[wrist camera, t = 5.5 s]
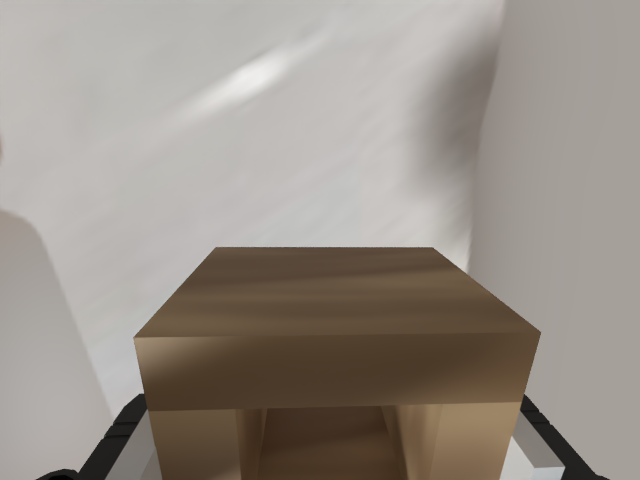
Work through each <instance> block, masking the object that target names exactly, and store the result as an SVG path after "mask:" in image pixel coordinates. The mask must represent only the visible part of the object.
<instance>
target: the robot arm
mask: <svg viewBox="0 0 640 480" xmlns="http://www.w3.org/2000/svg"><path fill="white" fill-rule="evenodd" d="M36 480H162V475H161V470H160V465H159V460H158V455H157V450H156V447H155V444H154V439H153V434H152V429H151V424H150V419H149V414H148V409H147V404H146V399H145V394H139V395H138V396H136V397H135V398H134V399H133V400H132V401H131V402H129V403H128V404H127V405H126V406H125V407H124V408H123V409H122V411H121V412H120V414H119V415H118V416H117V418H116V419H115V421H114V422H113V426H111V427H110V428H109V430H108V431H107V432H106V434H105V435H104V438H103V439H102V440H101V441H100V442H99V444H98V445H97V447H96V448H95V450H94V451H93V453H92V454H91V456H90V457H89V458H88V460H87V461H86V463H85V464H84V465H83V467H82V468H81V470H80V471H79V473H77V472H76V471H75V470H69V469H62V470H58V471H54V472H50V473H48V474H46V475H44V476H42V477H40V478H38V479H36ZM499 480H609V479H607V478H605V477H603V476H598V475H596V474H595V473H594V472H593V471H592V470H591V468H590V467H589V466H588V465H587V464H586V463H585V462H584V461H583V459H582V458H581V457H580V456H579V455H578V454H577V453H576V451H575V450H574V449H573V448H572V447H571V446H570V445H569V443H568V442H567V441H566V440H565V439H564V438H563V437H562V435H561V434H560V433H559V432H558V431H557V430H556V429H555V428H554V426H553V425H550V423H549V421H548V420H547V419H546V417H545V416H544V415H543V414H542V413H540V412H539V409H538V408H537V407H536V406H535V405H534V404H533V403H532V401H531V400H530V399H529V398H528V397H527V396H526V395H525V394H524V396H523V400H522V403H521V407H520V410H519V414H518V418H517V421H516V425H515V428H514V432H513V436H511V440H510V443H509V447H508V450H507V454H506V458H505V461H504V465H503V469H502V472H501V476H500V479H499Z"/></svg>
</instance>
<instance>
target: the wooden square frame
mask: <svg viewBox="0 0 640 480" xmlns="http://www.w3.org/2000/svg"><path fill="white" fill-rule="evenodd" d="M540 335H541V332H540V331H539V330H537V329H536V328H535V327H534V326H532V325H531V324H530V323H529V322H527V321H526V320H525V319H524V318H522V317H521V316H519V315H518V314H517V313H516V312H515V311H513V310H512V309H511V308H509V307H508V306H507V305H505V304H504V303H503V302H502V301H500V300H499V299H498V298H497V297H495V296H494V295H493V294H491V293H490V292H489V291H488V290H486V289H485V288H484V287H483V286H481V285H480V284H479V283H477V282H476V281H475V280H474V279H472V278H471V277H470V276H469V275H467V274H466V273H465V272H463V271H462V270H461V269H460V268H458V267H457V266H456V265H454V264H453V263H452V262H451V261H449V260H448V259H447V258H446V257H444V256H443V255H442V254H440V253H439V252H438V251H437V250H435V249H434V248H433V247H216V248H215V249H214V250H213V251H212V252H211V253H210V254H209V255H208V256H207V257H206V258H205V260H204V261H203V262H202V263H201V264H200V265H199V266H198V267H197V268H196V269H195V271H194V272H193V273H192V274H191V275H190V276H189V277H188V278H187V279H186V280H185V282H184V283H183V284H182V285H181V286H180V287H179V288H178V289H177V290H176V291H175V293H174V294H173V295H172V296H171V297H170V298H169V299H168V300H167V301H166V302H165V303H164V305H163V306H162V307H161V308H160V309H159V310H158V311H157V312H156V313H155V314H154V316H153V317H152V318H151V319H150V320H149V321H148V322H147V323H146V324H145V325H144V327H143V328H142V329H141V330H140V331H139V332H138V333H137V334H136V335H135V336H134V337H133V339H134V344H135V349H136V354H137V359H138V364H139V369H140V374H141V379H142V384H143V389H144V394H145V399H146V404H147V409H148V414H149V419H150V424H151V429H152V434H153V439H154V444H155V447H156V450H157V455H158V460H159V465H160V470H161V475H162V480H499V479H500V476H501V472H502V469H503V465H504V461H505V458H506V454H507V450H508V447H509V443H510V440H511V436H513V432H514V428H515V425H516V421H517V418H518V414H519V410H520V407H521V403H522V400H523V396H524V392H525V389H526V385H527V381H528V378H529V374H530V371H531V367H532V363H533V360H534V356H535V353H536V349H537V345H538V342H539V338H540Z"/></svg>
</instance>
